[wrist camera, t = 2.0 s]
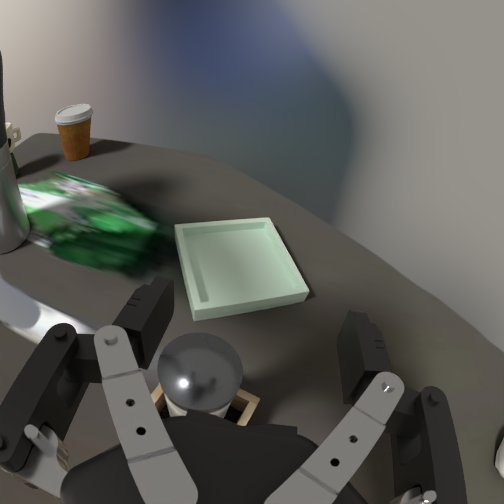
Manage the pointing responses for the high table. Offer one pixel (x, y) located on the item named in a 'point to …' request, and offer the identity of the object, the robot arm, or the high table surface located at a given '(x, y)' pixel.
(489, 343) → the high table surface
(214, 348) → the canister
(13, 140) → the character mug
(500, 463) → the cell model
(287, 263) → the tray
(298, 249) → the high table surface
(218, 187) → the high table surface
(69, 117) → the disposable coffee cup
